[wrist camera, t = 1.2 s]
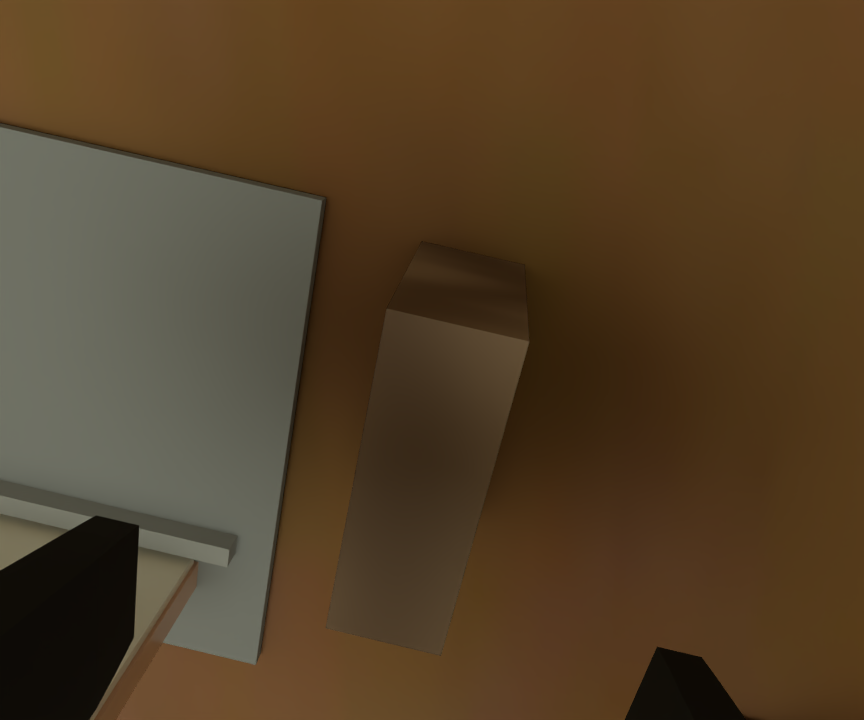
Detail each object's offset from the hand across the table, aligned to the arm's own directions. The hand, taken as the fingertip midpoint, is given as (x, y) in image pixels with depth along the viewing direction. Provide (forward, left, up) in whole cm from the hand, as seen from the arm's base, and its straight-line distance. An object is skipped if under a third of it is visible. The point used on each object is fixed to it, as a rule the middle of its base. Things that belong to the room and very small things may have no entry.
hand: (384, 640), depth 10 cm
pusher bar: (0, 0, -9) cm, 9 cm away
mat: (+8, +3, -8) cm, 12 cm away
